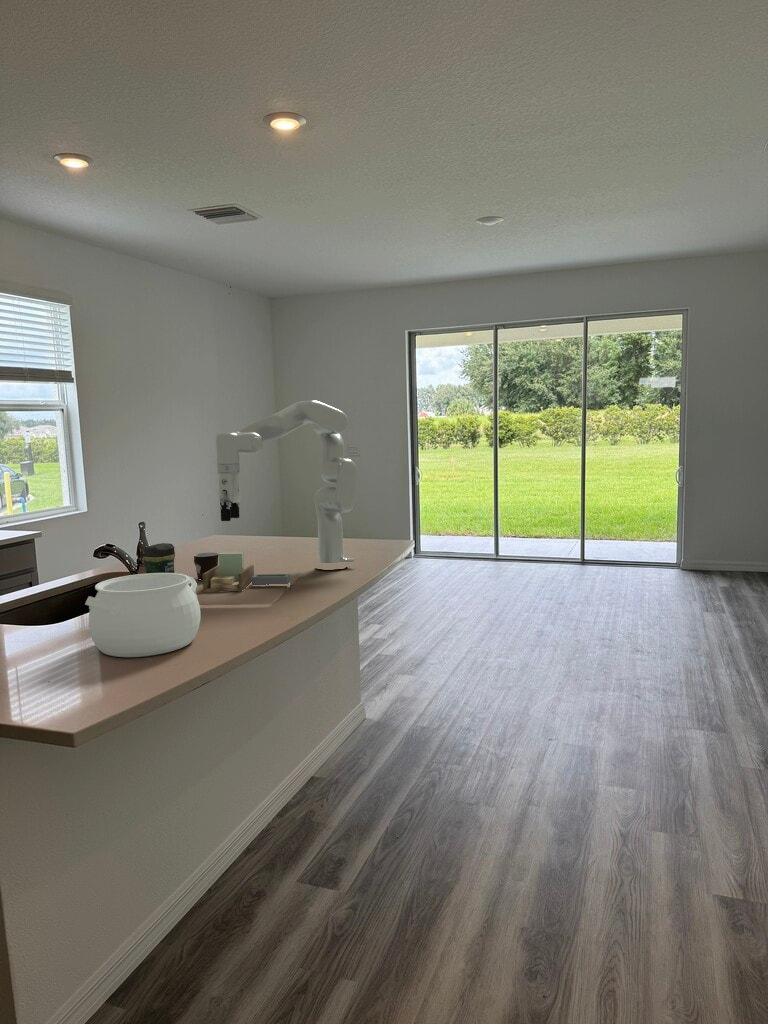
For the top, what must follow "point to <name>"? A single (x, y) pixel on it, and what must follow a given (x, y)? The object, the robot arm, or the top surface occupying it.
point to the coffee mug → (205, 562)
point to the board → (231, 564)
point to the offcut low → (234, 585)
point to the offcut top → (223, 580)
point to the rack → (244, 581)
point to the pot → (144, 614)
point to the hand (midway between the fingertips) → (230, 519)
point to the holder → (270, 579)
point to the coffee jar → (159, 558)
